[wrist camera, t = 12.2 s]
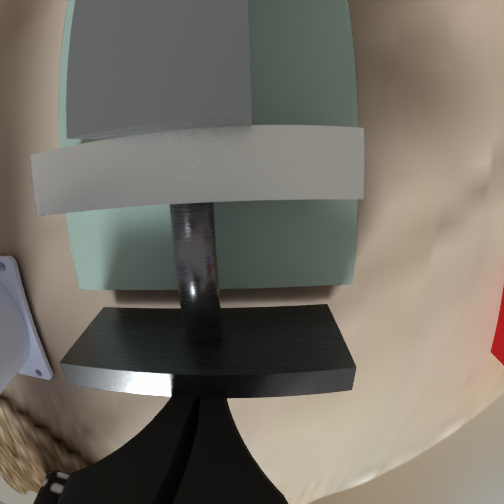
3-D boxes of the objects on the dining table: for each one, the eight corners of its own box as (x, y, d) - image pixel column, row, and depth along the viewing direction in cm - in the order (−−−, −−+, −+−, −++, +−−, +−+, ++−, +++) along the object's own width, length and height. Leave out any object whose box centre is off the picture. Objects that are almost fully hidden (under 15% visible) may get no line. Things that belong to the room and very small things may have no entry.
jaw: (108, 325, 14) (68, 384, 9) (81, 150, 11) (13, 157, 7) (325, 324, 14) (351, 389, 9) (332, 133, 11) (376, 126, 7)
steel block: (144, 141, 11) (66, 138, 6) (149, -31, 8) (103, -102, 3) (250, 133, 11) (252, 116, 6) (244, -42, 8) (243, -127, 3)
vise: (88, 281, 14) (46, 321, 10) (90, -53, 8) (57, -87, 4) (346, 274, 14) (377, 319, 10) (326, -77, 8) (344, -122, 4)
